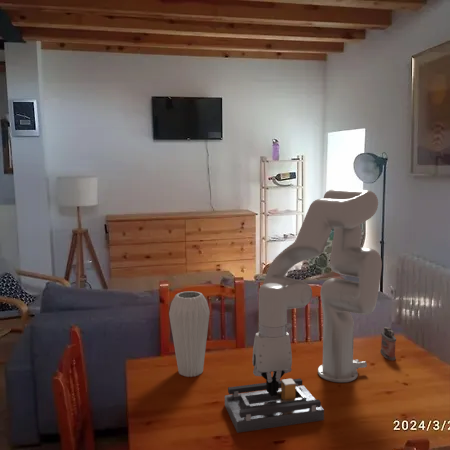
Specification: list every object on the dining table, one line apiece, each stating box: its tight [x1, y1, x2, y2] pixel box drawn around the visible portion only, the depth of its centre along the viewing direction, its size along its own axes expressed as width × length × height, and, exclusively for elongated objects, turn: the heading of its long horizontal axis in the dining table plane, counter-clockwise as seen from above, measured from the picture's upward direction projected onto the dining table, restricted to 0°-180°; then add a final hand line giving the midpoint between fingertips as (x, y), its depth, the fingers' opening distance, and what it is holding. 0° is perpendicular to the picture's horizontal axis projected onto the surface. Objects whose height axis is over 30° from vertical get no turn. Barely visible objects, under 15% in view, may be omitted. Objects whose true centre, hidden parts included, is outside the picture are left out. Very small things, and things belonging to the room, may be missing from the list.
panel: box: [224, 384, 325, 434], centre depth 128 cm, size 24×14×5 cm, turn 103°
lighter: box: [380, 326, 397, 361], centre depth 165 cm, size 8×3×10 cm, turn 6°
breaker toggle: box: [280, 378, 296, 400], centre depth 129 cm, size 3×3×5 cm
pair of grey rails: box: [227, 378, 322, 421], centre depth 128 cm, size 22×14×2 cm, turn 103°
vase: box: [168, 290, 211, 378], centre depth 153 cm, size 13×13×26 cm
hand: (272, 393), depth 128 cm, fingers closed
